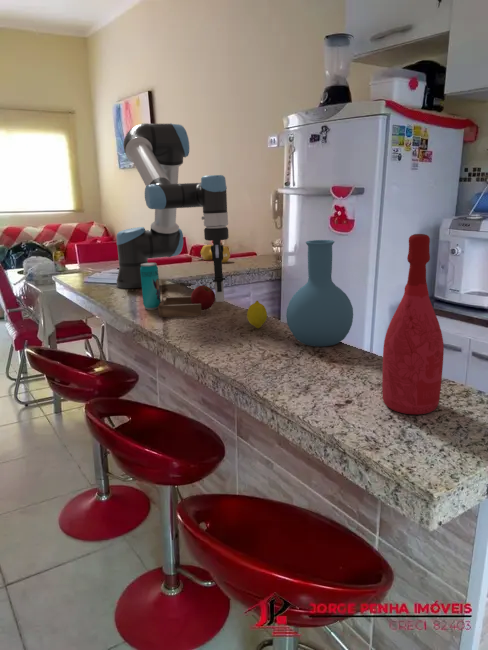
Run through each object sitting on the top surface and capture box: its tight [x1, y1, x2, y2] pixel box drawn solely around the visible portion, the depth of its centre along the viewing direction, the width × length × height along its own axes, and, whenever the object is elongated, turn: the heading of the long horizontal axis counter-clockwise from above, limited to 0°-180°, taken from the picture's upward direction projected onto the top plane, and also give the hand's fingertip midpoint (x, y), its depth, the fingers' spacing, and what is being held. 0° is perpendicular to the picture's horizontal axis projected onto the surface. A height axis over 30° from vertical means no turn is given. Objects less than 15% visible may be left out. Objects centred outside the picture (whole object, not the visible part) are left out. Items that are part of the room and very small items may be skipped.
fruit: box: [246, 300, 268, 329], centre depth 140 cm, size 6×6×8 cm
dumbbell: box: [200, 244, 231, 264], centre depth 271 cm, size 19×9×8 cm, turn 33°
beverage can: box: [140, 262, 162, 311], centre depth 167 cm, size 6×6×15 cm
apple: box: [190, 284, 216, 311], centre depth 163 cm, size 8×8×8 cm
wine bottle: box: [381, 233, 445, 415], centre depth 85 cm, size 10×10×30 cm
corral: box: [157, 295, 203, 318], centre depth 163 cm, size 13×13×4 cm
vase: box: [285, 239, 354, 347], centre depth 124 cm, size 16×16×25 cm
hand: (220, 300), depth 163 cm, fingers closed
